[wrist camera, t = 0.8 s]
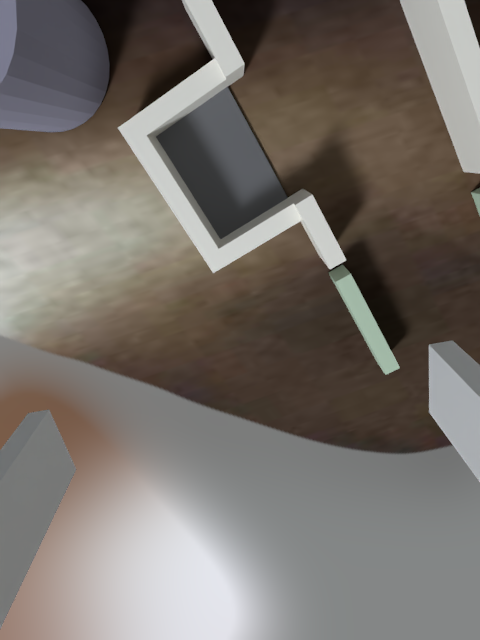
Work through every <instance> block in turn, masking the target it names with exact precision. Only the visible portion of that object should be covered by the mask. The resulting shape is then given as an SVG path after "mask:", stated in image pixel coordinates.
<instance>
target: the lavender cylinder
mask: <svg viewBox="0 0 480 640" xmlns="http://www.w3.org/2000/svg"><path fill="white" fill-rule="evenodd" d="M109 65H110V64H109V57H108V49H107V46H106V42H105V39H104V36H103V33H102V31H101V29H100V27H99V25H98V23H97V21H96V19H95V17H94V16H93V14H92V13H91V12H90V10H89V9H88V7H87V6H86V5H85V4H84V3H83V2H82V1H81V0H0V128H5V129H17V130H30V131H42V132H63V131H66V130H70V129H74V128H76V127H77V126H79V125H81V124H83V123H85V122H86V121H87V120H88V119H89V118H90V117H92V116H93V115H94V113H95V112H96V110H97V109H98V108H99V106H100V105H101V102H102V100H103V98H104V96H105V93H106V90H107V85H108V81H109Z"/></svg>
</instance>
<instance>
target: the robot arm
mask: <svg viewBox="0 0 480 640" xmlns="http://www.w3.org/2000/svg"><path fill="white" fill-rule="evenodd" d="M429 413H430V414H431V416H432V417H433V418H434V420H435V421H436V422H437V424H438V425H439V427H440V428H441V429H442V431H443V432H444V433H445V435H446V436H447V438H448V439H449V440H450V442H451V443H452V444H453V446H454V447H455V449H456V450H457V451H458V453H459V454H460V456H461V457H462V458H463V459H464V461H465V462H466V464H467V465H468V467H469V468H470V469H471V471H472V472H473V473H474V475H475V476H476V477H477V479H478V480H479V482H480V365H479V364H478V363H477V362H476V361H474V360H473V359H472V358H471V357H470V356H469V355H468V354H467V353H466V352H464V351H463V350H462V349H461V348H460V347H459V346H458V345H457V344H456V343H455V342H453V341H447V342H441V343H435V344H430V345H429ZM75 471H76V468H75V466H74V463H73V461H72V459H71V457H70V455H69V452H68V450H67V448H66V446H65V444H64V441H63V439H62V437H61V435H60V433H59V430H58V428H57V426H56V424H55V422H54V419H53V417H52V415H51V413H50V411H49V410H44V411H38V412H33V413H28V414H27V416H26V417H25V418H24V420H23V421H22V422H21V424H20V425H19V426H18V428H17V429H16V430H15V432H14V433H13V434H12V436H11V437H10V438H9V439H8V441H7V442H6V443H5V445H4V446H3V447H2V449H1V450H0V628H1V626H2V624H3V622H4V620H5V618H6V616H7V614H8V611H9V609H10V607H11V605H12V603H13V601H14V599H15V597H16V595H17V592H18V591H19V588H20V586H21V584H22V582H23V580H24V578H25V576H26V574H27V572H28V570H29V567H30V565H31V563H32V561H33V559H34V557H35V555H36V553H37V551H38V549H39V546H40V544H41V542H42V540H43V538H44V536H45V534H46V532H47V530H48V528H49V525H50V523H51V521H52V519H53V517H54V515H55V513H56V511H57V509H58V507H59V504H60V502H61V500H62V498H63V496H64V494H65V492H66V490H67V488H68V486H69V484H70V481H71V479H72V477H73V475H74V473H75Z"/></svg>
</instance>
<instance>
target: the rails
mask: <svg viewBox="0 0 480 640" xmlns="http://www.w3.org/2000/svg"><path fill="white" fill-rule="evenodd" d="M471 194H472V196H473V199H474V202H475V204H476V207H477V210H478V212H479V215H480V188H478V189H476V190H474V191H473V192H471ZM328 273H329V275H330V277H331V278H332V280H333V282H334V284H335V286H336V288H337V290H338V291H339V293H340V295H341V297H342V299H343V301H344V302H345V304H346V306H347V308H348V310H349V312H350V313H351V315H352V317H353V319H354V321H355V323H356V325H357V326H358V328H359V330H360V332H361V334H362V336H363V337H364V339H365V341H366V343H367V345H368V347H369V348H370V350H371V352H372V354H373V356H374V358H375V360H376V361H377V363H378V364H379V366H380V367H381V369H382V370H383V372H384V373H385V375H386V374H388V373H390V372H392V371H394V370H397V369H399V368H400V367H399V365H398V363H397V361H396V359H395V357H394V356H393V354H392V352H391V350H390V348H389V346H388V344H387V342H386V340H385V338H384V336H383V334H382V333H381V331H380V329H379V327H378V325H377V323H376V321H375V319H374V317H373V315H372V313H371V311H370V309H369V308H368V306H367V304H366V302H365V300H364V298H363V296H362V294H361V292H360V290H359V288H358V286H357V285H356V283H355V281H354V279H353V277H352V275H351V273H350V272H349V271H348V270H347V269H346V268H345V267H344V265H341V266H339V267H337V268H336V269H334V270H332V271H330V272H328Z"/></svg>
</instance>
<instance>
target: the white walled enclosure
mask: <svg viewBox="0 0 480 640" xmlns="http://www.w3.org/2000/svg"><path fill="white" fill-rule="evenodd" d="M182 2H183V4H184V7H185V9H186V11H187V13H188V15H189V17H190V19H191V20H192V22H193V24H194V26H195V28H196V30H197V32H198V33H199V35H200V37H201V39H202V41H203V43H204V44H205V46H206V48H207V50H208V52H209V54H210V55H211V57H212V59H213V60H212V61H210V62H209V63H207V64H206V65H205V66H203V67H202V68H200V69H199V70H198V71H196V72H195V73H194V74H192V75H191V76H189V77H188V78H187V79H185V80H184V81H182V82H181V83H180V84H178V85H177V86H175V87H174V88H173V89H171V90H170V91H168V92H167V93H166V94H164V95H163V96H162V97H160V98H159V99H157V100H156V101H155V102H153V103H152V104H150V105H149V106H148V107H146V108H145V109H143V110H142V111H141V112H139V113H138V114H137V115H135V116H134V117H132V118H131V119H130V120H128V121H127V122H125V123H124V124H123V125H121V126H120V127H118V129H119V130H120V132H121V133H122V135H123V136H124V138H125V140H126V141H127V143H128V144H129V146H130V147H131V149H132V150H133V152H134V153H135V155H136V156H137V158H138V159H139V161H140V162H141V164H142V165H143V167H144V168H145V170H146V171H147V173H148V175H149V176H150V178H151V179H152V181H153V182H154V184H155V185H156V187H157V188H158V190H159V191H160V193H161V194H162V196H163V197H164V199H165V200H166V202H167V203H168V205H169V207H170V208H171V210H172V211H173V213H174V214H175V216H176V217H177V219H178V220H179V222H180V223H181V225H182V226H183V228H184V229H185V231H186V232H187V234H188V235H189V237H190V238H191V240H192V242H193V243H194V245H195V246H196V248H197V249H198V251H199V252H200V254H201V255H202V257H203V258H204V260H205V261H206V263H207V264H208V266H209V267H210V269H211V270H212V272H213V273H214V272H216V271H218V270H219V269H221V268H223V267H224V266H226V265H228V264H229V263H231V262H233V261H234V260H236V259H238V258H239V257H241V256H243V255H244V254H246V253H248V252H249V251H251V250H253V249H254V248H256V247H258V246H260V245H261V244H263V243H265V242H266V241H268V240H270V239H271V238H273V237H275V236H276V235H278V234H280V233H281V232H283V231H285V230H286V229H288V228H290V227H291V226H293V225H295V224H296V223H298V222H300V221H301V223H302V225H303V227H304V229H305V231H306V232H307V234H308V236H309V238H310V240H311V242H312V243H313V245H314V247H315V249H316V251H317V253H318V255H319V256H320V257H321V259H322V260H323V261H324V262H325V264H326V265H327V266H328V268H329V269H332V268H334V267H335V266H337V265H339V264H341V263H343V262H344V261H346V258H345V256H344V254H343V252H342V251H341V249H340V247H339V245H338V243H337V241H336V239H335V237H334V235H333V233H332V231H331V229H330V227H329V225H328V224H327V222H326V220H325V218H324V216H323V214H322V212H321V210H320V208H319V206H318V204H317V202H316V200H315V198H314V197H313V195H312V194H311V193H309V192H308V191H306V190H304V189H301V190H299V191H298V192H296V193H294V194H293V195H291V196H290V197H287V195H286V193H285V192H284V190H283V188H282V186H281V184H280V182H279V181H278V179H277V177H276V175H275V173H274V171H273V170H272V168H271V166H270V164H269V162H268V160H267V158H266V157H265V155H264V153H263V151H262V149H261V147H260V146H259V144H258V142H257V140H256V138H255V136H254V134H253V133H252V131H251V129H250V127H249V125H248V123H247V122H246V120H245V118H244V116H243V114H242V112H241V111H240V109H239V107H238V105H237V103H236V101H235V99H234V98H233V96H232V94H231V92H230V90H229V88H228V86H229V85H231V84H232V83H234V82H235V81H237V80H238V79H239V78H241V77H242V76H244V66H245V63H244V61H243V60H242V58H241V56H240V54H239V52H238V50H237V48H236V46H235V44H234V42H233V40H232V38H231V36H230V34H229V32H228V31H227V29H226V27H225V25H224V23H223V21H222V19H221V17H220V15H219V13H218V11H217V9H216V7H215V5H214V4H213V2H212V0H182ZM400 3H401V5H402V8H403V11H404V13H405V16H406V19H407V21H408V24H409V27H410V30H411V32H412V35H413V38H414V40H415V43H416V46H417V48H418V51H419V54H420V56H421V59H422V62H423V65H424V67H425V70H426V73H427V75H428V78H429V81H430V83H431V86H432V89H433V91H434V94H435V97H436V99H437V102H438V105H439V108H440V110H441V113H442V116H443V118H444V121H445V124H446V126H447V129H448V132H449V134H450V137H451V140H452V143H453V145H454V148H455V151H456V153H457V156H458V159H459V161H460V164H461V167H462V169H463V172H471V173H480V48H479V45H478V41H477V38H476V35H475V32H474V29H473V26H472V23H471V20H470V17H469V13H468V10H467V7H466V4H465V1H464V0H400Z"/></svg>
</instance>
